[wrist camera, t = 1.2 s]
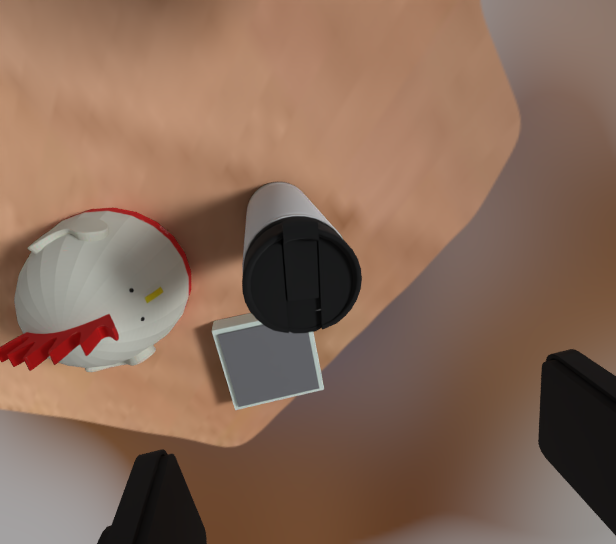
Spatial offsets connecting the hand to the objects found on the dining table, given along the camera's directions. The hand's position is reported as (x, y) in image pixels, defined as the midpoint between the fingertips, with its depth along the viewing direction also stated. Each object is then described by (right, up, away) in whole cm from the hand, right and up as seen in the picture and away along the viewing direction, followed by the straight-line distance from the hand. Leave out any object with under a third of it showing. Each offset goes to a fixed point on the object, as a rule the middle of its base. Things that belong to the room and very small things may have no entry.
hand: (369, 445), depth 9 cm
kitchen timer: (-20, +4, +28) cm, 35 cm away
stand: (-6, -4, +33) cm, 34 cm away
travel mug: (-4, +10, +28) cm, 30 cm away
